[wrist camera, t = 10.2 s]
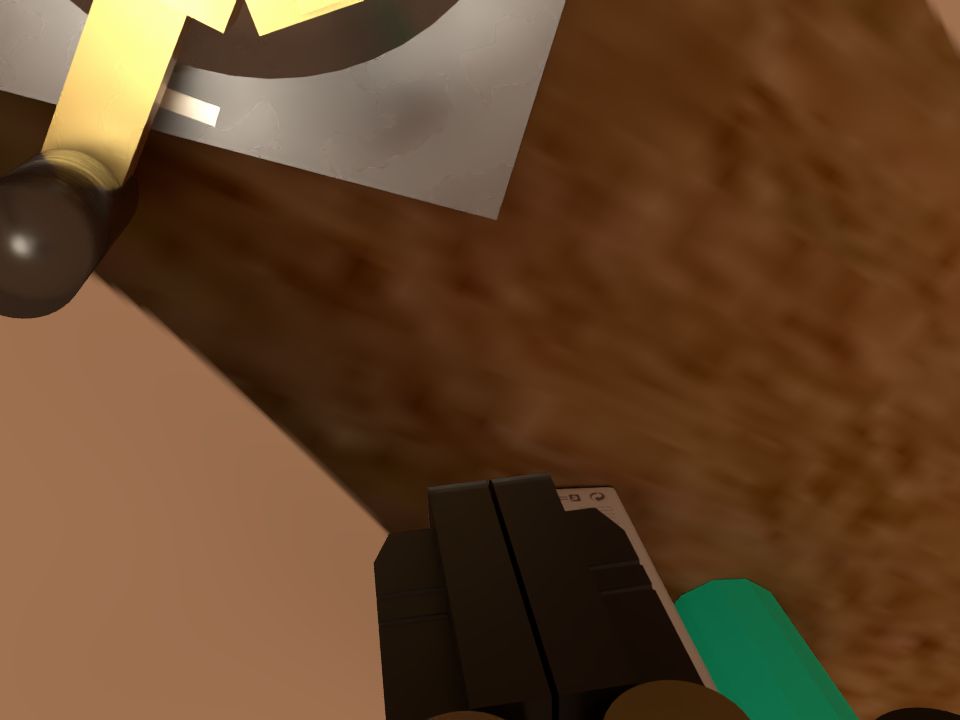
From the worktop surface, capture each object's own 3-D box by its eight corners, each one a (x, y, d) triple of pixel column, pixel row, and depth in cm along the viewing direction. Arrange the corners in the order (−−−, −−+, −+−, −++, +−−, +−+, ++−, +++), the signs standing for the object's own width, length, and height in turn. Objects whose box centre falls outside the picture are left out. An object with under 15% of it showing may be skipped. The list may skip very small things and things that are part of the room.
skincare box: (511, 487, 36) (591, 717, 25) (614, 483, 36) (733, 705, 26) (502, 608, 38) (570, 864, 27) (598, 602, 39) (701, 850, 28)
